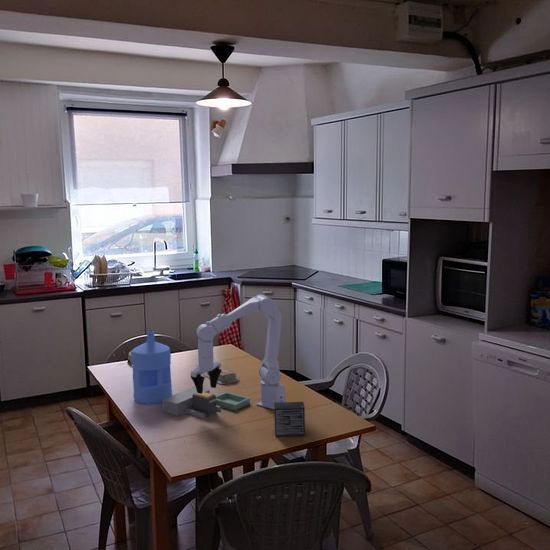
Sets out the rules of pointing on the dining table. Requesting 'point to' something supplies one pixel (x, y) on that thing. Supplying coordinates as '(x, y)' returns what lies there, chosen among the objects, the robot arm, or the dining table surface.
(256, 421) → the dining table surface
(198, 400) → the grey block orange panel
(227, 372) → the packaged product
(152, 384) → the water jug
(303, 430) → the small box
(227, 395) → the tray
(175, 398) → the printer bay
